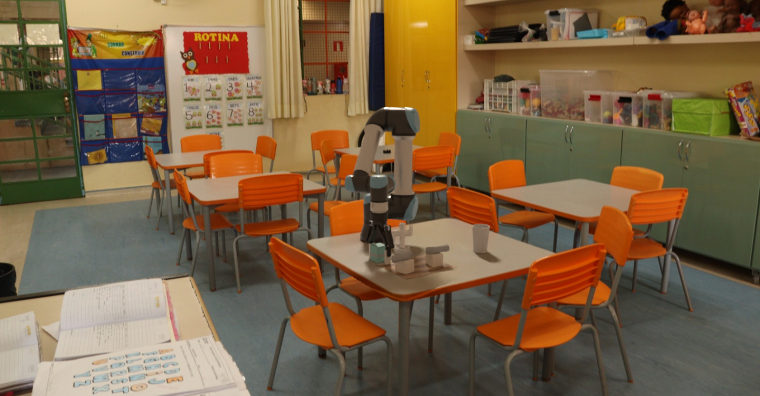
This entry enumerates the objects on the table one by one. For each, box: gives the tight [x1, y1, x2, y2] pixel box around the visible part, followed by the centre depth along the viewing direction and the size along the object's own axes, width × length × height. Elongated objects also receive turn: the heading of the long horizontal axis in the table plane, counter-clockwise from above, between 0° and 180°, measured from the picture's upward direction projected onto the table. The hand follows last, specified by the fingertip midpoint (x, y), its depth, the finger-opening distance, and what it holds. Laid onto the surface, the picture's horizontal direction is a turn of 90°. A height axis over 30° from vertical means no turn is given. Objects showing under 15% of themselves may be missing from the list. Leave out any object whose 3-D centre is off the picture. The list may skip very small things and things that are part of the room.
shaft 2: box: [425, 244, 450, 267], centre depth 264 cm, size 10×6×8 cm, turn 115°
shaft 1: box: [391, 250, 414, 274], centre depth 254 cm, size 10×6×8 cm, turn 135°
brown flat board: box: [375, 254, 457, 280], centre depth 262 cm, size 22×26×1 cm
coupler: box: [370, 242, 385, 263], centre depth 270 cm, size 5×5×8 cm
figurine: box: [391, 222, 414, 255], centre depth 280 cm, size 7×9×15 cm
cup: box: [471, 223, 491, 254], centre depth 286 cm, size 8×8×12 cm
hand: (379, 260), depth 269 cm, fingers open, 11 cm apart
